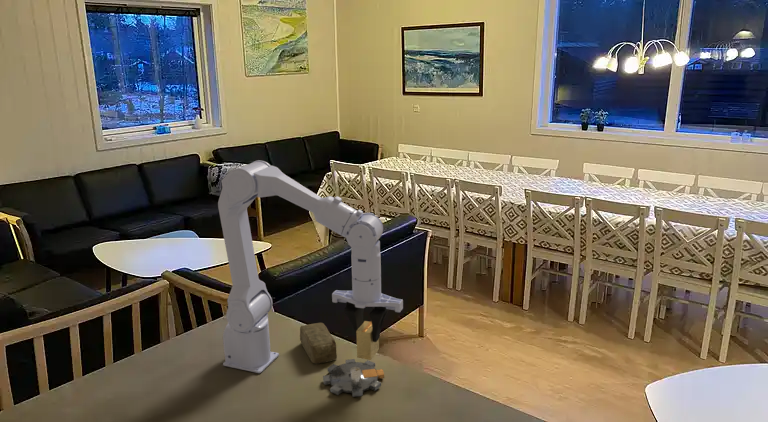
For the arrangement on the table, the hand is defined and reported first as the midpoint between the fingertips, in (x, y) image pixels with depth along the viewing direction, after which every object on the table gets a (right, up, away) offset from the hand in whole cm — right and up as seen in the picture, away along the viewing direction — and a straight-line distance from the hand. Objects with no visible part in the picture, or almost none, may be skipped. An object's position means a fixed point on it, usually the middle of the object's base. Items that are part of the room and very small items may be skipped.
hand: (367, 338), depth 111 cm
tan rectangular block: (0, -3, +1) cm, 3 cm away
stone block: (-12, -6, +13) cm, 18 cm away
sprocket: (-3, -9, +1) cm, 10 cm away
